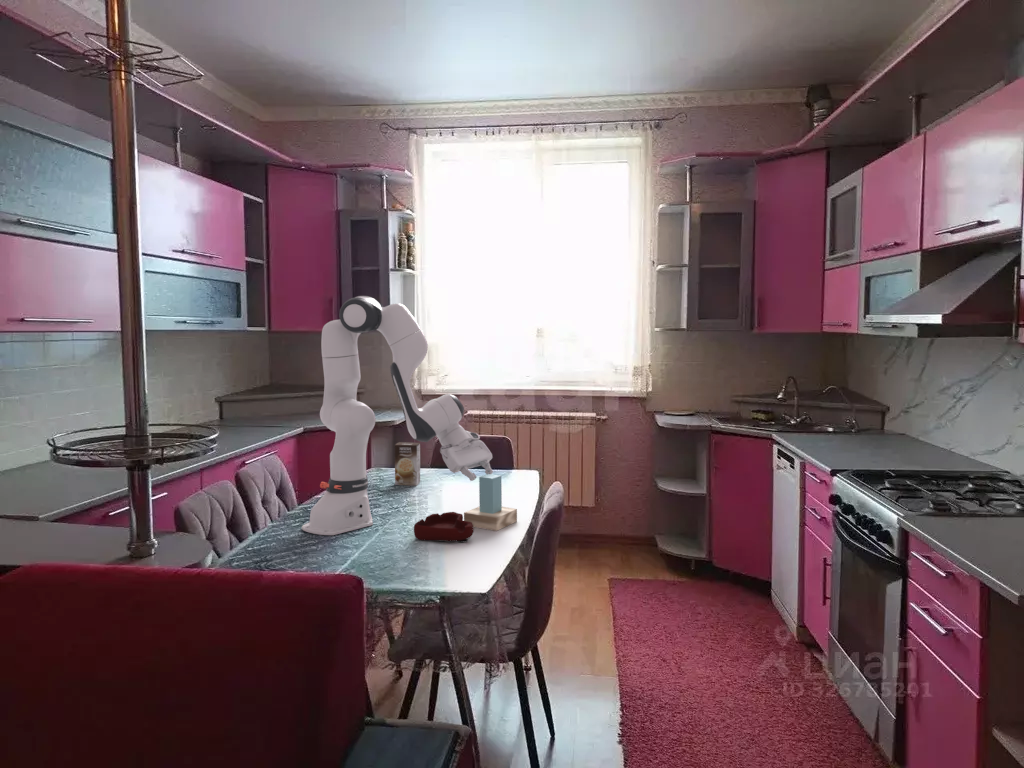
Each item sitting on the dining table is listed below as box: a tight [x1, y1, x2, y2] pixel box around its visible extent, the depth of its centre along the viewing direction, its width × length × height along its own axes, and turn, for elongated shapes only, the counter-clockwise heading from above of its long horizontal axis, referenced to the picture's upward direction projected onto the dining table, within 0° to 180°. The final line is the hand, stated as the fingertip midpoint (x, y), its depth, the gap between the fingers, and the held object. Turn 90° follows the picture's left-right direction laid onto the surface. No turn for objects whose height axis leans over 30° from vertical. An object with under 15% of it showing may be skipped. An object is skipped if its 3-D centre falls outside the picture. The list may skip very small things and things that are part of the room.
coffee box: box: [394, 441, 421, 487], centre depth 271 cm, size 9×6×16 cm
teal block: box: [478, 473, 503, 514], centre depth 216 cm, size 5×5×11 cm
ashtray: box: [413, 511, 475, 543], centre depth 203 cm, size 18×16×5 cm
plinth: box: [463, 505, 518, 532], centre depth 216 cm, size 12×12×4 cm
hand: (482, 476), depth 216 cm, fingers open, 8 cm apart
